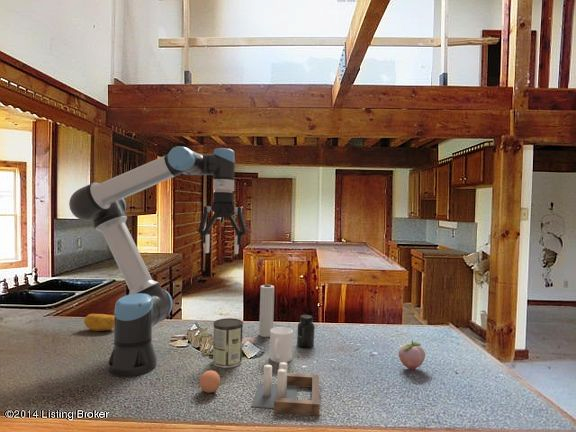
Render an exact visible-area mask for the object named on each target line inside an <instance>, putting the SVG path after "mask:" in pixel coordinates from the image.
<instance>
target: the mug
mask: <svg viewBox="0 0 576 432" xmlns="http://www.w3.org/2000/svg"><path fill="white" fill-rule="evenodd" d="M293 338H294V330H293V329H292V328H289V327H285V326H284V327H283V326H279V327H278V326H277V327H273V328H272V329H271V330H270V337H269V359H270V360H271V362H275V363H278V364H279V363H281V362H286V363H288V362H290V361H291V360H292V358H293V346H294V345H293V343H294V341H293V340H294V339H293Z"/></svg>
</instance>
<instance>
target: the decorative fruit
mask: <svg viewBox="0 0 576 432" xmlns="http://www.w3.org/2000/svg"><path fill="white" fill-rule="evenodd" d="M398 358H399V361H400V362H401V363H402V365H403V366H404V367H405V368H407V369H409V370H411V371H413V370H416V369H417V368H420V366H422V364H423V363H424V361H425V358H426V352H425V350H424V348H423V347H422V343H419V342H417V341H414V340H411V342H407V343H404V344H402V345H401V346H400V347H399V350H398Z"/></svg>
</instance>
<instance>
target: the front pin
mask: <svg viewBox="0 0 576 432" xmlns="http://www.w3.org/2000/svg"><path fill="white" fill-rule="evenodd" d="M272 375H273V366H272V365H271V364H264V365H263V382H262V383H263V396H265V397H269V396H271V386H272V384H273V382H272V379H273V378H272V377H273V376H272Z"/></svg>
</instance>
